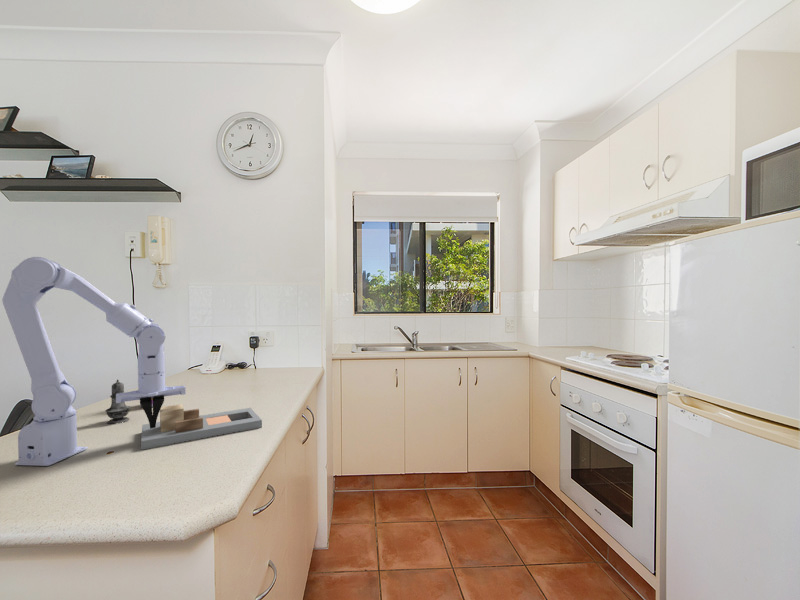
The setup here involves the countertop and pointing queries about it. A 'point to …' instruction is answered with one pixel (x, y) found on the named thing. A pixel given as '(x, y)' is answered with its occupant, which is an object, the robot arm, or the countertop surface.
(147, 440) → the deck
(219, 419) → the tile
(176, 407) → the block
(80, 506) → the countertop surface
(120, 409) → the salt shaker
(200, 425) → the channel walls
